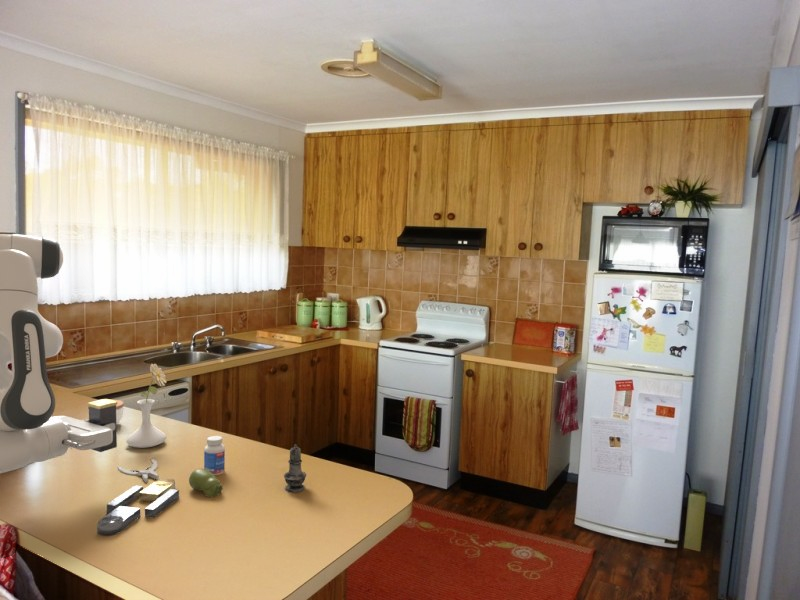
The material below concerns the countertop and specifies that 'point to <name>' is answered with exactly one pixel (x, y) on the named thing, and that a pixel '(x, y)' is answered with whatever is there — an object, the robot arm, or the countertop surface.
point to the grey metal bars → (131, 510)
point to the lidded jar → (118, 410)
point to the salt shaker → (295, 472)
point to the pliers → (144, 473)
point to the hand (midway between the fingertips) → (106, 423)
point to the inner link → (157, 489)
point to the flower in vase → (148, 416)
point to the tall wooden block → (103, 418)
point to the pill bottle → (214, 455)
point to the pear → (205, 482)
